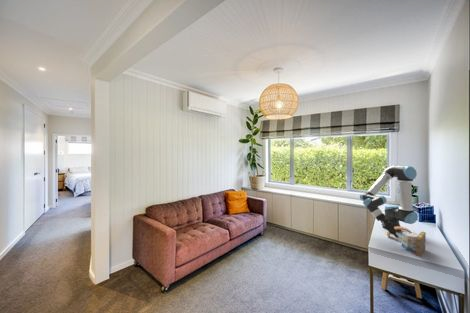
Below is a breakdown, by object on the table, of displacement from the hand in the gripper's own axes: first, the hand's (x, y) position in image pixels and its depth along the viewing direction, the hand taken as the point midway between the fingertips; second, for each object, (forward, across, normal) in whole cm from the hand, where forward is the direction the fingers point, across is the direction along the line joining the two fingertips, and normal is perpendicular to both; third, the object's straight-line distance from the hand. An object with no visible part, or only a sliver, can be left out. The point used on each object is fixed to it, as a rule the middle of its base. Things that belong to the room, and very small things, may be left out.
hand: (401, 240), depth 166 cm
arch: (0, -21, -7) cm, 22 cm away
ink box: (+7, -2, 0) cm, 8 cm away
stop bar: (+12, -1, +5) cm, 13 cm away
